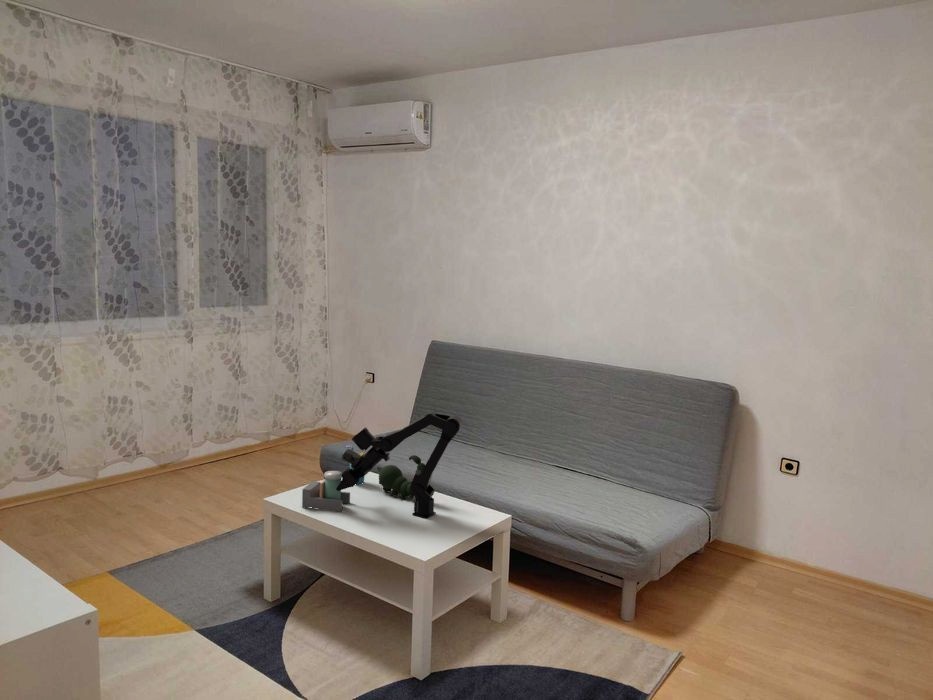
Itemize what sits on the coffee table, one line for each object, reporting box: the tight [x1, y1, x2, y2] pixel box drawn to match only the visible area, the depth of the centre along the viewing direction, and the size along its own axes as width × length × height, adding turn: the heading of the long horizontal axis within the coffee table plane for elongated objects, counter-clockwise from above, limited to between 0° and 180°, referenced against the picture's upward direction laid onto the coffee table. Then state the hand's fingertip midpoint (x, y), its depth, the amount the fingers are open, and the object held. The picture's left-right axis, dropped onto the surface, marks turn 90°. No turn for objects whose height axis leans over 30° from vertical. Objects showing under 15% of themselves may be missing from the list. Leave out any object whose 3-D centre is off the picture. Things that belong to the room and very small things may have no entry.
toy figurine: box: [376, 454, 426, 500], centre depth 268 cm, size 9×19×25 cm
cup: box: [345, 445, 366, 486], centre depth 281 cm, size 14×8×15 cm, turn 46°
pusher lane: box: [301, 480, 351, 512], centre depth 253 cm, size 15×10×7 cm, turn 81°
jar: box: [323, 470, 343, 500], centre depth 252 cm, size 6×6×12 cm
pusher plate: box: [320, 479, 325, 498], centre depth 253 cm, size 1×7×9 cm, turn 171°
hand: (341, 486), depth 252 cm, fingers open, 9 cm apart
